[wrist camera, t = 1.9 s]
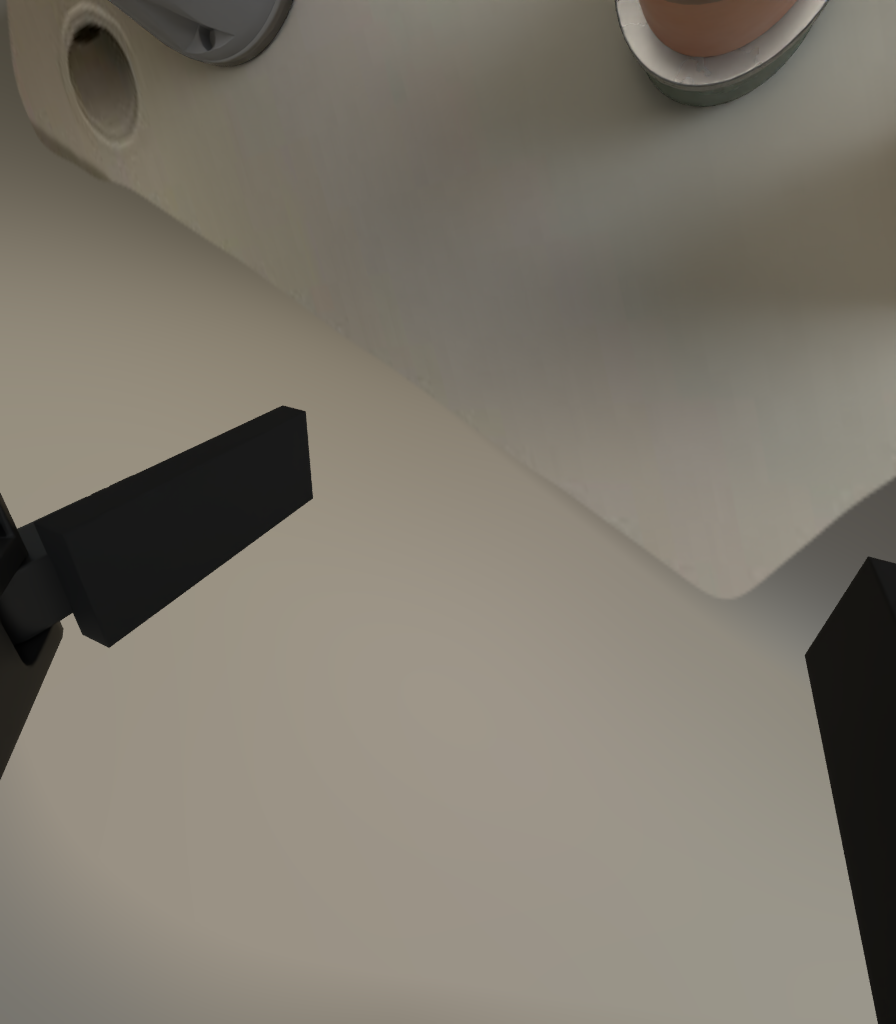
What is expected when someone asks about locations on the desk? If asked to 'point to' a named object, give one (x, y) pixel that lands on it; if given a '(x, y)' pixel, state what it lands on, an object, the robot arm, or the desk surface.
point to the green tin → (715, 74)
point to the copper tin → (711, 23)
